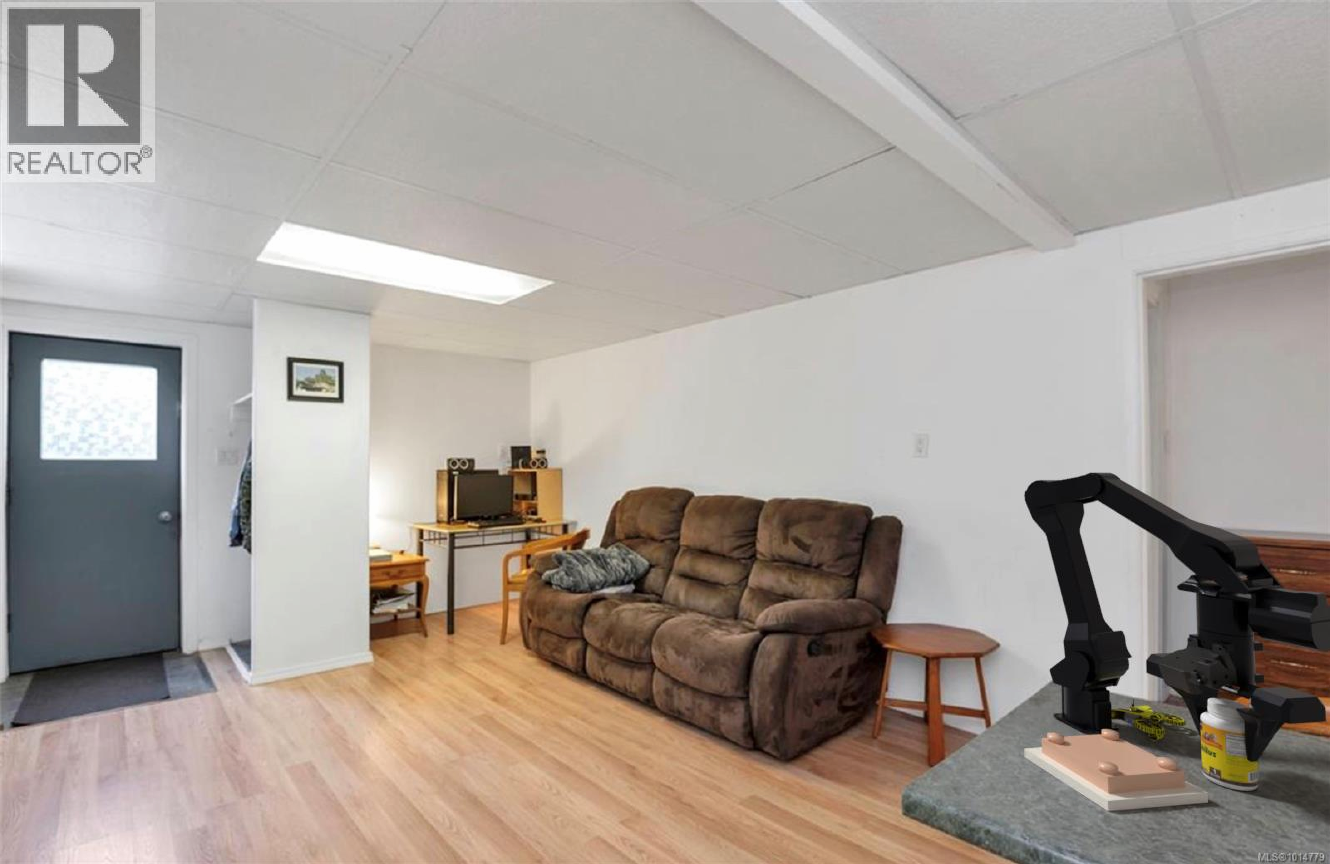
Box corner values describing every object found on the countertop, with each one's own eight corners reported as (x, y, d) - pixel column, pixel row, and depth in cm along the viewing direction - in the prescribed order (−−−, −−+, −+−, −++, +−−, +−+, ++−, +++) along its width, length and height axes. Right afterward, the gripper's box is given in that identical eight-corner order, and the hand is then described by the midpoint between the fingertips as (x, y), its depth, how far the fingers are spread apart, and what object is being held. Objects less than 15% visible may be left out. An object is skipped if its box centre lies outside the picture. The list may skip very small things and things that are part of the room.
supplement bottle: (1195, 768, 87) (1193, 692, 87) (1247, 776, 85) (1245, 699, 85) (1210, 786, 82) (1208, 706, 82) (1266, 796, 80) (1263, 713, 80)
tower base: (1024, 756, 90) (1024, 728, 90) (1111, 750, 92) (1110, 722, 92) (1108, 810, 76) (1107, 776, 76) (1207, 802, 78) (1206, 769, 78)
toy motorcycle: (1160, 721, 93) (1106, 702, 99) (1158, 747, 93) (1104, 727, 99) (1190, 709, 100) (1138, 692, 106) (1188, 734, 100) (1136, 716, 105)
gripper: (1111, 615, 92) (1114, 724, 91) (1248, 654, 74) (1252, 791, 73) (1177, 613, 94) (1180, 720, 93) (1327, 650, 75) (1332, 784, 75)
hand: (1228, 750), depth 83 cm, fingers closed on supplement bottle, 6 cm apart
